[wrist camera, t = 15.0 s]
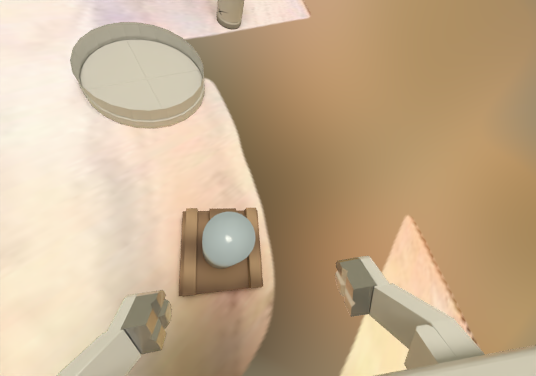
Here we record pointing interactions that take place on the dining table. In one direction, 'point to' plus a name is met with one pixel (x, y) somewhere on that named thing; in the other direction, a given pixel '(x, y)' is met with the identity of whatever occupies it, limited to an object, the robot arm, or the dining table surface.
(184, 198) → the dining table surface
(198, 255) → the chest
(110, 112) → the dish
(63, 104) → the dining table surface
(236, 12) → the travel mug
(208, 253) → the grey domed cylinder
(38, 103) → the dining table surface
